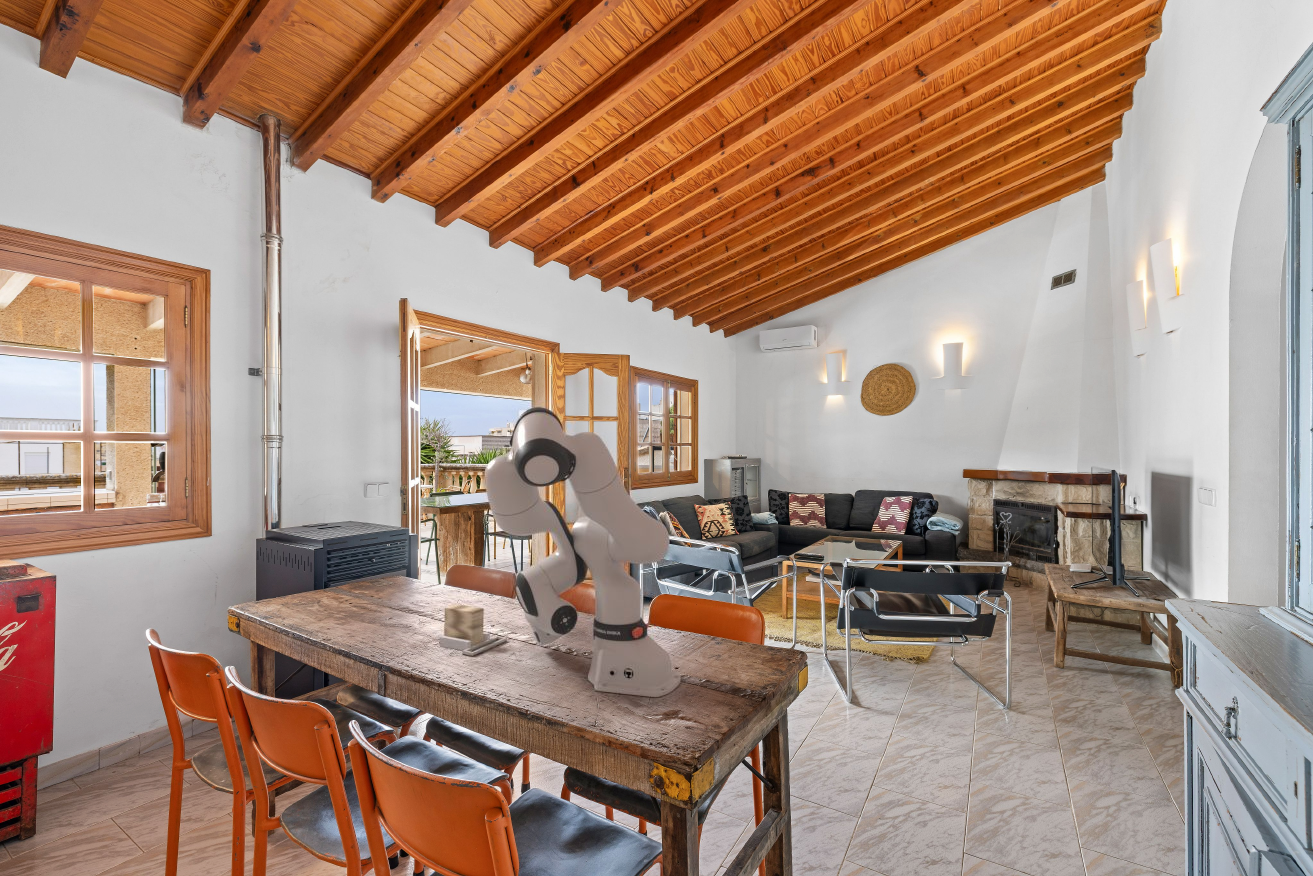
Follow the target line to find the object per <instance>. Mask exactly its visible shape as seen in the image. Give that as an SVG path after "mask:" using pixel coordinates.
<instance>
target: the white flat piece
mask: <svg viewBox="0 0 1313 876" xmlns="http://www.w3.org/2000/svg"><path fill="white" fill-rule="evenodd" d="M490 634H491V632H487V631H486V632H485V631H483V642H484V641H487V640H489V639H491V635H490ZM439 647H443V648H449V649H452V650H453V649H454V650H458V651H464V650H466V649H468V648H471V641H469V640H463V639H458V638H452V637H447V636H444V635H441V636H439Z"/></svg>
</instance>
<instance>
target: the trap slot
mask: <svg viewBox="0 0 1313 876" xmlns="http://www.w3.org/2000/svg"><path fill="white" fill-rule="evenodd" d="M507 641H508V637H505V636H498V635H497V636H494V637H492V638H491V637H490V639H489V640H487V641H484V642H482V643H480V644H478V645H475V646H473V647H471V648H468V649H466V650H464V651H462V650H461V651H462V654H461V655H463V656H465V657H476V656H477V655H480V654H481V653H484V652H487V651H489V650H491V649H493V648H495V647H498V646H499V645H503V644H504V643H506V642H507Z"/></svg>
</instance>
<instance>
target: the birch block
mask: <svg viewBox="0 0 1313 876" xmlns="http://www.w3.org/2000/svg"><path fill="white" fill-rule="evenodd" d="M484 609H485V608H483V607H477V606H471V605H464V604H458V603H456V604H452V605H449V606H446V607H444V620H443V621H444V625H443V626H444V629H443V631H444V632H443V634H444V635H443V636H447V637H452V638H458V639H463V640H469V641H471V647H473V646H475V645H478V644H480V643H482V642H483V632H484V618H485V617H484V613H485V611H484Z"/></svg>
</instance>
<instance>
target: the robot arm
mask: <svg viewBox="0 0 1313 876" xmlns="http://www.w3.org/2000/svg"><path fill="white" fill-rule="evenodd" d="M509 445H510V447H511V449H510V450H509V451H508V452H507V453H504V454H500V455H497V456H495V457H494V458H492V459H491V460H490V461H489V462H488V463H487V465H486V467H485V470H484V482H485V483H484V484H485V491H486V495H487V500H488V504H489V508H490V512H491V514H492V516H493V519H494V520H495V524H496V525H497V526H498V528H500V530H502V531H503V532H505V533H506V534H509V535H512V536H517V537H519V536H520V537H525V536H526V537H527V536H532V535H536V534H544V533H549V534H550V536H551V539H552V540H553V541H554V544H555V545H556V550H555V551H553V553H552V554H549V555H548V556H546V557H545V558H543V559H541V560H539V561H538V562H536V563H534V564H532V565H530V566H528V567H527V568H525V569H522V570H521V571H518V572H516V574H515V581H514V582H515V583H514V593H515V597H516V599H517V601H518V603H519V605H520V606H521V609H522V610H523V611H524V613H523V614H524V618H525V620H526V622H527V623H528V624H529V626H530V627H531V630H532V631H533V632H532V633H533V635H534V638H535V641H536V643H537V645H539V646H540V647H544V646H546V645H548V644H551V643H554V642H555V641H557V640H559V639H560V638H562V637H563V636H565V635H567V634H569V633H570V632H571V631H573V629H574V628H575V627H576V625H577V622H578V620H579V619H578V617H579V614H578V611H577V609H576V607H575V606H574V605H573V604H572V603H571V602H569V601H567V600H565V599H564V598H561V597H559V596H560V595H561V594H562V593H564V592H566V591H567V590H570V589H571V588H574V587H576V586H578V585H580V584H582V583H583V582H584V581H585V580H586V577H587V575H588V571H589V573H590V576H591V579H592V583H593V586H594V598H595V600H594V601H595V604H594V605H595V606H594V607H595V608H594V609H595V612H594V613H595V614H594V615H595V617H594V618H593V623H592V624H593V627H592V628H593V630H592V632H593V633H592V635H593V640H594V641H593V642H594V643H593V649H592V650H593V651H592V657H591V663H590V667H589V671H588V675H587V680H588V681H589V682H590V683H591V684H592V685H593V686H594V687H593V688H594V690H595V691H597V692H603V693H604V692H605V693H614V694H624V695H632V696H640V697H641V696H642V697H652V698H658V697H662V696H665V695H668V694H670V693H671V692H673V691H674V690H675V689H677V688H678V687H679V685H680V684H681V683H682V678H681V673H679V672H678V671H676V670H675V671H674V670H672V663H671V662H672V661H671V657H670V655H669V654H670V653H668V652H667V651H666V649H664V648H663V647H662V646H661V645H659V644H658V642H656V641H655V640H654V639H653V638H652V637H651V636H650V635H649V634H648V629H649V628H650V627H651V625H650V624H651V621H648V622H645V621H644V619H643V617H642V589H641V586H640V583H639V582H638V581H637V580H636V579H635V578H634V577H633V576H631V575H630V574H629V573H628V571H626V568H625V567H624V564H623V563H627V564H638V565H642V564H643V565H644V564H652V563H659V562H661V560H663V558H665V556H667V552H668V550H669V548H670V535H669V530H668V529H667V527H666V525H665V524H664V523H663V522H661V521H659V520H658V519H655V518H654V517H652V516H650V515H649V514H647V512H645V511H644V510H643V509H642V508H641V507H640V506H638V505H637V503H636V502H635V501H634V500H633V498H632V497H631V496H630V494H629V493H628V491H627V489H626V487H625V485H624V482H623V481H622V478H621V475H620V473H619V471H618V467H617V465H616V462H615V461H614V458H613V456H612V454H611V452H610V451H609V449H608V446H606V443H605V442H604V441H603V439H602V438H601V437H600V436H599V435H598V434H596V433H593V432H589V431H585V432H578V433H576V434H574V435H569V434H565V432H564V429H563V424H562V422H561V420H560V419H559V417H558V415H556V413H555V412H553V411H552V410H550V409H548V408H545V407H542V406H536V407H531V408H528V409H527V410H525V411H524V412H523V413H522V414H521V415H519V417H518V419H517V421H516V423H515V425H514V428H513V431H512V434H511V437H510V440H509ZM566 480H568V481H569V483H570V486H571V489H572V491H573V493H574V496H575V498H576V500H577V503H578V505H579V507H580V509H581V511H582V513H583V514H584V515H585V516H581V517H579V518H578V519H577V520H575V522H574V523H573V525H572V528H571V530H570V529H569V527H568V525H567V523H566V521H565V519H564V517H563V515H562V514H561V511H559V509H558V508H557V507H556V506H555V505H554V503H552V502H551V501H550V500H543V499H542V497H541V495H540V493H539V488H540V487H541V488H542V487H543V488H544V487H548V486H553V485H555V484H558V483H560V482H565V481H566Z"/></svg>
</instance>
